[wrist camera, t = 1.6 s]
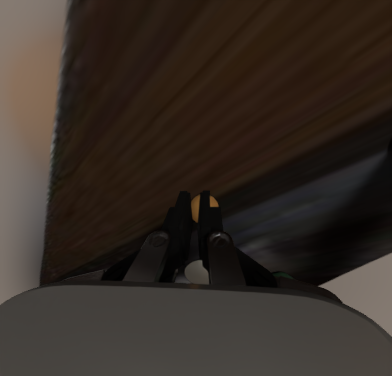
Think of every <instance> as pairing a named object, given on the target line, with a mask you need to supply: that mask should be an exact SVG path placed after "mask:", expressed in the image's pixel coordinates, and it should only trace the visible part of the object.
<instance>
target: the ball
mask: <svg viewBox="0 0 392 376" xmlns="http://www.w3.org/2000/svg"><path fill="white" fill-rule="evenodd" d="M199 201H200V195H198V196H196V197H195V198H194V199H193V200H192V201H191V208H192V219H193V220H194V221H196V222H197V223H198V212H199ZM210 207H219V206H218V203H217V201H216V200H215V199H214V198H213V197H212V196H210Z"/></svg>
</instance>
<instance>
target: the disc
mask: <svg viewBox="0 0 392 376" xmlns="http://www.w3.org/2000/svg"><path fill="white" fill-rule="evenodd" d="M185 276H186V278H187V279H188V280H189V281H190V282H192V283H193V284H209V277H208V271H207V270H206V269H205V268H204V267H203V266H202V260H197V261H194V262H192V263H190V264H189V265H188V266H187V267H186V268H185Z"/></svg>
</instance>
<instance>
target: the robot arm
mask: <svg viewBox="0 0 392 376" xmlns="http://www.w3.org/2000/svg"><path fill="white" fill-rule="evenodd" d="M192 223H193V219H192V208H191V198H190V193H188V192H187V191H180V193H179V196H178V199H177V202H176V205H175V207H170V208H169V211H168V213H167V216H166V219H165V221H164V224H163V226H162V229H161V230H159V231H155V232H153V233H152V234H150V235H149V236H148V238H147V239H146V241H145V243H144V244H143V246H142V248H141V249H139V250H138V251H136V252H135V253H133V254H131V255H130V256H128V257H126V258H125V259H123V260H121V261H120V262H118V263H116V264H115V265H113V266H112V267H110V268H109V269H108V270H107V271H105V270H101V271H96V272H92V273H88V274H84V275H80V276H76V277H71V278H68V279H65V280H63V281H61V282H56V283H52V284H47V285H43V286H40V287H37V288H33V289H31V290H28V291H25V292H23V293H21V294H18V295H16V296H14V297H12V298H11V299H9V300H7V301H5V302H4V303H3V304H1V305H0V376H392V337H391V336H390V335H389V334H388V333H387V332H386V331H385V330H384V329H383V328H381V327H380V326H379V325H378V324H377V323H376V322H374V321H373V320H372V319H370V318H368V317H367V316H366V315H364V314H362V313H361V312H359V311H357V310H355V309H353V308H351V307H349V306H347V305H345V304H343V303H342V301H341V300H340V299H339V298H338V297H337V296H336V295H335V294H333V293H332V292H330V291H328V290H326V289H324V288H321V287H318V286H314V285H311V284H308V283H304V282H301V281H297V280H294V279H291V278H287V277H284V276H280V275H279V277H276V276H273V274H272V273H271V272H269V271H268V270H267V269H266V268H264V267H263V266H261V265H260V264H259V263H257V262H256V261H254V260H253V259H252V258H250V257H249V256H247V255H246V254H245V253H243V252H242V251H240V250H239V249H238V248H236V247H235V246H234V243H233V240H232V238H231V236H230V235H229V234H228V233H226V232H224V231H223V225H222V217H221V209H220V207H210V191H203V193H200V201H199V212H198V225H197V230H198V243H199V256H200V260H202V266H203V267H204V268H205V269H206V270H207V271H208V277H209V284H187V283H174V282H175V278H176V275H177V269H178V268H179V267H180V266H181V265H184V263H185V260H188V254H189V246H190V239H191V231H192Z"/></svg>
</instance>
